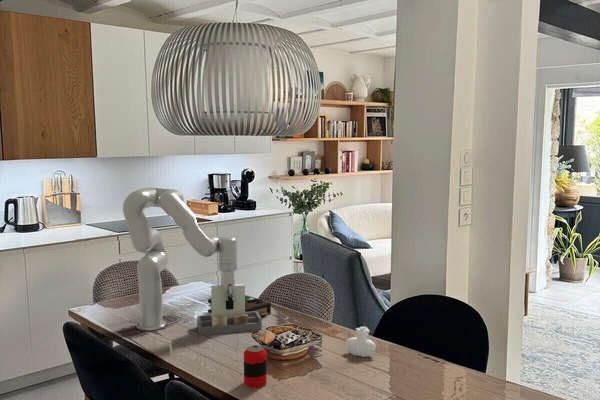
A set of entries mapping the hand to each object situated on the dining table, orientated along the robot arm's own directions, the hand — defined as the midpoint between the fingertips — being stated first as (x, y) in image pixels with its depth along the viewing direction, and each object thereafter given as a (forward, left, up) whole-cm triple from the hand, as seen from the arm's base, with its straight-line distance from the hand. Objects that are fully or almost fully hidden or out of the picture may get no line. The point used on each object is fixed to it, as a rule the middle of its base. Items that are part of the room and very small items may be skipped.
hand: (228, 306), depth 242 cm
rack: (0, -2, -10) cm, 10 cm away
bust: (+45, -41, -10) cm, 62 cm away
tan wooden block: (+4, -5, -9) cm, 11 cm away
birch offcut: (-5, -5, -9) cm, 11 cm away
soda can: (+1, -57, -10) cm, 58 cm away
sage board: (0, 0, -9) cm, 9 cm away
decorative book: (+8, +20, -11) cm, 24 cm away
